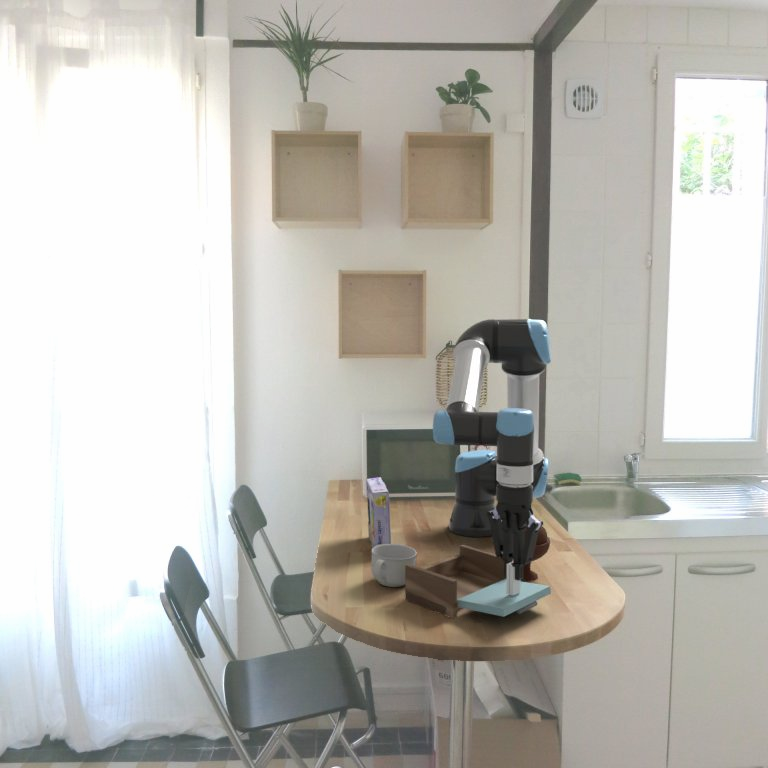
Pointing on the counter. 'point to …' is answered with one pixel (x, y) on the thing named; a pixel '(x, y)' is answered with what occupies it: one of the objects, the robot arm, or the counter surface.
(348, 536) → the counter surface
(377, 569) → the teacup
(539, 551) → the ice cream bowl
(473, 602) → the pale blue slab
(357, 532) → the counter surface
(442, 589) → the drawer box
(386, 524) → the cake pan box
